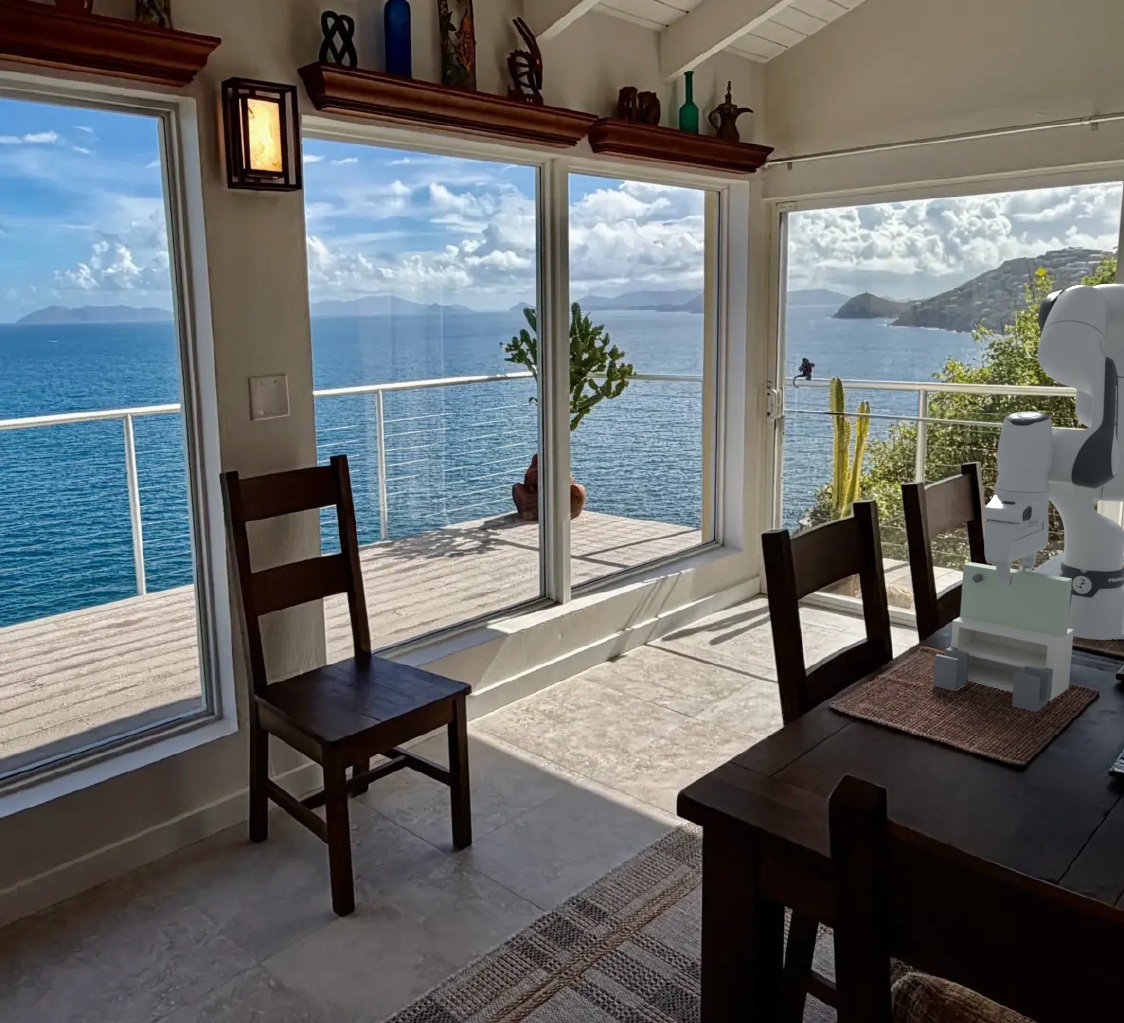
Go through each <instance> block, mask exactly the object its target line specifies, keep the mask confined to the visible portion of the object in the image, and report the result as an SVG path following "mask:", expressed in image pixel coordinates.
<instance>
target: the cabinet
mask: <svg viewBox="0 0 1124 1023" xmlns="http://www.w3.org/2000/svg"><path fill="white" fill-rule="evenodd" d="M951 628H952V629H951V644H950V647H948V648H946V649H945V651H944V652H945V653H944V654H945V655H943V654H940V653H939V654H938V653H937V654H935V655H934V666H933V667H934V668H933V669H934V671H933V686H938V687H942V688H946V689H950V690H954V691H955V690H957V689H958V688H960V687H961V686H963V685H965V684H966V683H967V684H968V682H967V680H970V681H973V682H976V683H979V684H983V685H986V686H990V687H993V688H992V689H994V688H998V689H1000V690H999V691H1002V690H1004V691H1003V692H1007V691H1009V692H1008V693H1011V692H1013V693H1012V701H1011V702H1012V703H1011V707H1012V706H1016V707H1018V708H1017V709H1019V708H1022V709H1021V710H1023V709H1026V710H1025V711H1027V710H1030V711H1029V712H1031V711H1033V712H1032V713H1035V712H1037V711H1038V712H1039V711H1041V710H1042V709H1043V708H1044V707H1046V706H1047V705H1048V701H1051V700H1052V699H1054V698H1055V697H1056V698H1058V697H1059V696H1061V695H1062V694H1064V692H1065V690H1066V689H1067V690H1068V689H1069V688H1070V678H1071V666H1072V665H1071V664H1072V653H1073V642H1074V641H1073V640H1074V636H1073V632H1074V630H1073V629H1068V631H1067V634H1066V635H1065V636H1063V637H1059V636H1054V635H1049V634H1044V633H1039V632H1034V631H1029V630H1024V629H1019V628H1014V627H1009V626H1004V625H999V624H994V623H989V622H984V621H979V620H974V619H969V618H964V617H960V616H959V617H957V618H954V619H953V620H952V625H951ZM933 686H932V687H933ZM986 686H985V687H986ZM990 687H989V688H990ZM998 689H997V690H998ZM1067 690H1066V691H1067ZM1061 693H1062V694H1061ZM1057 696H1058V697H1057ZM1056 698H1055V699H1056ZM1055 699H1054V700H1055ZM1052 701H1053V700H1052ZM1052 701H1051V702H1052ZM1046 704H1047V705H1046ZM1045 705H1046V706H1045ZM1042 707H1043V708H1042ZM1041 708H1042V709H1041ZM1038 712H1037V713H1038Z"/></svg>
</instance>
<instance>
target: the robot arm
mask: <svg viewBox="0 0 1124 1023" xmlns="http://www.w3.org/2000/svg"><path fill="white" fill-rule="evenodd" d="M1037 318H1038V319H1037V320H1038V328H1039V330H1040V333H1041V335H1040V337H1039V338H1040V339H1039V342H1038V345H1037V354H1036V355H1037V361H1038V364H1039V366H1040V368H1041V370H1042V371H1043V373H1045V374H1046V375H1047V376H1048V377H1049V378H1050V379H1052V380H1053V381H1055V382H1057V383H1059V384H1061V385H1062V386H1063V385H1064V386H1066V387H1070V388H1072V389H1075V390H1076V396H1075V417H1076V418H1077V420H1078V421H1079V422H1080V423H1081V424H1083V425H1084V426H1085V427H1088V428H1086V429H1083V430H1080V429H1079V430H1074V429H1059V428H1058V429H1057V428H1056V429H1054V428H1053V425H1052V419H1051V416H1050V415H1048V414H1047V413H1043V412H1040V411H1021V412H1015V413H1011V414H1009V415H1007V416H1006V417H1005V418H1004V419H1003V420H1004V421H1002V425H1001V426H1002V427H1001V431H1000V435H999V441H998V445H997V456H996V467H997V469H998V474H997V475H998V476H997V480H996V482H995V485H994V494H993V495H992V498H991V500H990V501H989V502H988V503H987V505H985V506H984V510H983V518H984V519H985V520H987V521H986V523H985V527H984V557H985V561H986V562H987V564H991V565H995V566H996V569H997V572H998V576H999V580H998V584H999V586H1003V587H1008V586H1010V585H1011V584H1012V576H1010V569H1012V566H1013V565H1012V563H1015V562H1018V561H1019V560H1021V565H1020V566H1019V568H1018V570H1022V571H1028V572H1033V567H1034V565H1035V562H1036V559H1037V553H1038V552H1041V551H1042V550H1045V549H1046V548H1047V547H1048V543H1049V527H1050V526H1049V523H1050V522H1049V521H1050V520H1049V518H1050V517H1049V505H1050V503H1049V502H1051V503H1052V505H1053V506H1054V507H1055V508H1056V510H1057V512H1058V513H1059V516H1060V518H1061V522H1062V524H1063V529H1064V531H1063V532H1064V550H1063V552H1064V554H1063V561H1062V562H1061V563H1060V567H1059V577H1065V578H1072V584H1071V587H1072V588H1073V591H1072V597H1071V604H1070V610H1069V619H1068V629H1073V630H1074V632H1073V638H1079V639H1087V640H1088V639H1089V640H1095V641H1096V640H1097V641H1098V640H1099V641H1108V640H1109V641H1110V640H1112V639H1113V640H1124V529H1123V527H1122V526H1121V525H1120V524H1119V523H1118V522H1116V521H1115V520H1113V519H1111V518H1109V517H1107V516H1106V515H1103V514H1101V513H1100V512H1098V511H1097V510H1096V509H1095V502H1099V501H1104V502H1121V503H1122V502H1124V283H1106V284H1105V283H1103V284H1102V283H1101V284H1097V285H1092V286H1090V285H1085V284H1083V285H1082V284H1080V285H1075V286H1072V287H1069V288H1067V289H1061V290H1058V291H1055V292H1052V293H1049V294H1048V295H1047V296H1046V297H1045V298H1044V299H1043V300H1042V301H1041V304H1040V305H1039V309H1038V317H1037ZM1113 640H1112V641H1113Z"/></svg>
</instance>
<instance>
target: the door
mask: <svg viewBox="0 0 1124 1023" xmlns="http://www.w3.org/2000/svg"><path fill="white" fill-rule="evenodd" d="M962 567H963V569H962V584H961V585H962V586H961V600H960V612H959V617H964V618H969V619H974V620H979V621H984V622H989V623H994V624H999V625H1004V626H1009V627H1014V628H1019V629H1024V630H1029V631H1034V632H1039V633H1044V634H1049V635H1054V636H1059V637H1063V636H1065V635H1066V634H1067V631H1068V619H1069V607H1070V596H1071V584H1072V578H1065V577H1060V575H1059V576H1058V575H1053V574H1045V573H1039V572H1034V571H1032V572H1028V571H1022V570H1019V569H1014V568H1010V576H1012V584H1011V585H1010V586H1008V587H1003V586H999V584H998V580H999V576H998V572H997V569H996V565H992V564H991V565H989V564H984V563H977V562H970V561H969V562H966V563H964V564H963V566H962Z"/></svg>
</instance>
